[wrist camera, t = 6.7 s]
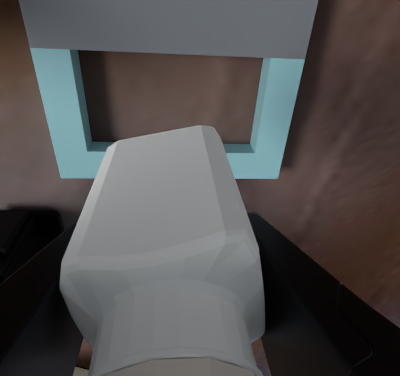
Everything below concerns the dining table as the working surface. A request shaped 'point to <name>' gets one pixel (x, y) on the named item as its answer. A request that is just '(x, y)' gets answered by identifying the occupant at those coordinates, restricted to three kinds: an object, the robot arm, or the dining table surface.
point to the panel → (169, 44)
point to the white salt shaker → (166, 262)
